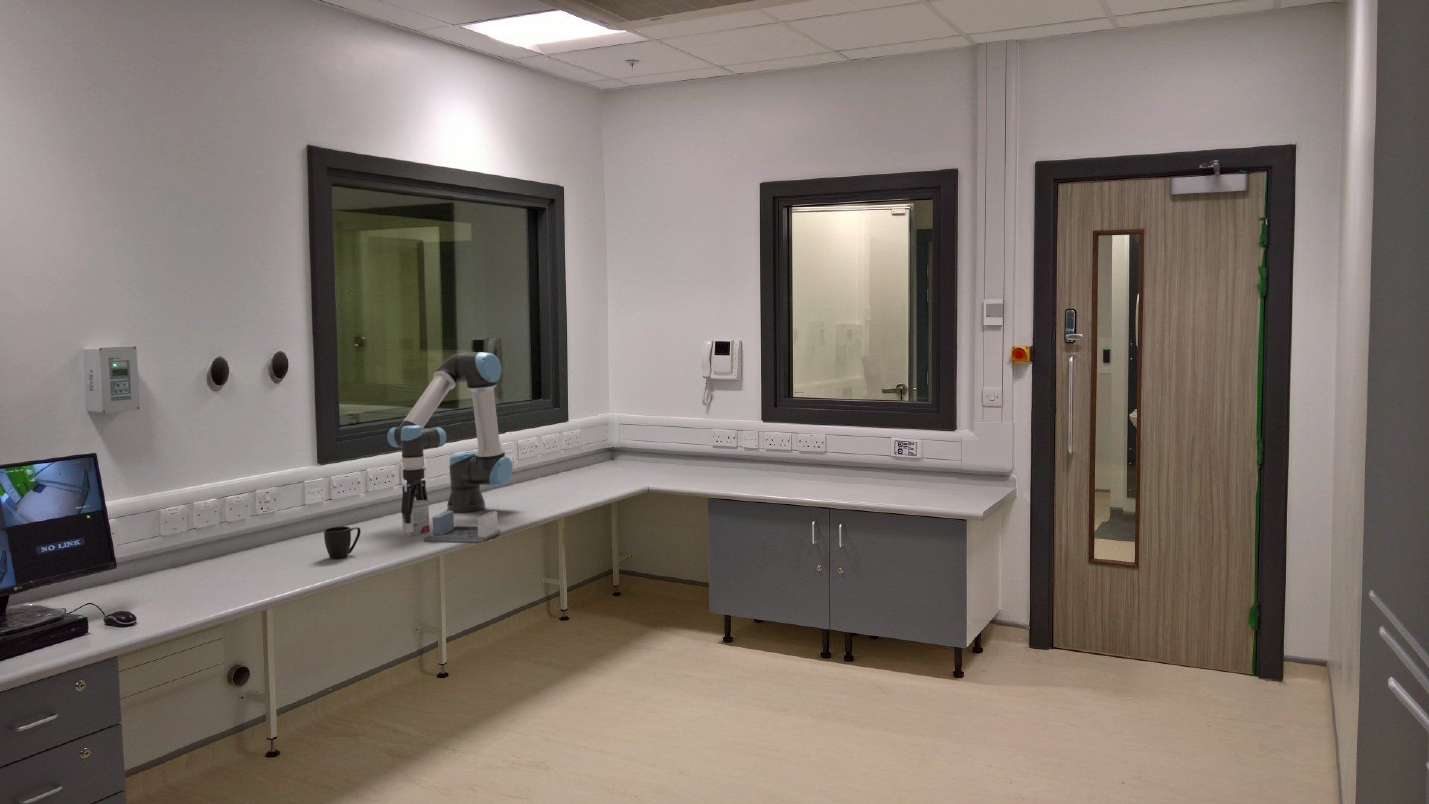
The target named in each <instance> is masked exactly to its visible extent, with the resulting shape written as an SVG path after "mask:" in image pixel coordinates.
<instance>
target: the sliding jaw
mask: <svg viewBox="0 0 1429 804" xmlns="http://www.w3.org/2000/svg"><path fill="white" fill-rule="evenodd" d="M454 513H455V512H453V511H448V510H446V511H444V512H442V513H440V514H437V515H435V516H432V519H431V520H432V534H433V535H444V534H446V533H448V532H450V531H452V530H454V526H455V516H454Z"/></svg>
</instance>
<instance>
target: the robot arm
mask: <svg viewBox="0 0 1429 804" xmlns="http://www.w3.org/2000/svg"><path fill="white" fill-rule="evenodd" d="M502 372H503V371H502V364H501V362H500V359H499V358H498V357H497V356H496V355H495V354H494V353H491V352H483V351H482V352H481V351H478V352H477V351H475V352H459V353H454V354H453V355H451V356H450V357H448V358H446V360H444V361H443V362H442V363H441V364H440V365H439V366H438V368H437V369H436V370H435V371H434V372H433V374H432V377H433V379H432V380H431V381H430V382H429V384H428V386H427V387H426V389H425V390H424V391H423V393H422V395H420V396H419V398H418V400H417V401H416V403H415V404H414V405H413V406H412V408H411V410H409V412H408V414H407V415H406V417H405V418H404V419H403V420H402V423H401V424H400V425H399V426H396V427H395V426H394V427H392V428H390V429H389V431H387V436H386V437H387V442H388V444H389V445H390V446H391V447H393V448H400V449H401V462H402V463H401V464H402V465H401V466H402V468H403V469H402V478H403V481H406V485H402V488H401V489H402V499H401V509H400V510H401V511H400V512H401V515H402V514H405V526H406V532H414V526H413V514H411V513H412V508H413V502H414V501H417V500H427V501H428V502H429V499H428V493H427V488H426V487H427V486H426V484H427V483H426V480H424V478H425V468H423V467H425V459H424V458H425V457H424V456H425V455H424V451H425V450H431V449H438V448H441V447H443V446H444V445H445V444H446V442H447V434H446V431H445V430H444V428H441V427H439V426H438V427H433V426H432V428H429V427H428V428H427V427H426V428H425V426H426V424H427V423H428V422H429V420H430V418H431V417H432V416H433V414H434V413H435V411H436V410H437V409H438V407H439V406H440V404H441V403H442V402H443V400H444V399H445V397H446V396H447V395H448V393H449V391H450V390H453V389H454V388H456V386H457V385H458V384H459V383H462V382H463V383H466V388H467V389H468V390H469V391H470V392H471V396H472V406H473V407H472V408H473V414H474V422H475V430H476V439H477V440H476V441H477V447H478V450H477V451H471V452H463V453H457V454H453V455H451V456H450V458H449V478H450V481H449V482H450V494H449V497H448V500H447V505H446V509H447V510H446V511H453V513H468V512H476V511H481V510H484V509H485V508H486V501H485V499H484V496H483V494H482V490H481V486H484V485H485V486H492V487H495V486H503V485H505V484H506V483H507V482H508V481H509V479H510V478H511V476H512V473H513V461H512V460H511V459H510V457H508V456H506V453H505V450H504V449H503V448H502V447H501V442H500V434H499V426H498V416H497V407H496V400H495V399H496V398H495V388H496V386H498V383H497V382H498V381H499V380H500V379H501V375H502Z"/></svg>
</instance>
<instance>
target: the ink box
mask: <svg viewBox="0 0 1429 804" xmlns="http://www.w3.org/2000/svg"><path fill="white" fill-rule="evenodd" d="M429 507H430V506H429V500H428V501H427V500H414V502H413V508H412V513H411V514H413V526H414V532H406V526H405V514H402V513H401V519H402V520H401V521H402V523H401V524H402V535H405V536H408V537H412V536H413V537H414V536H417V535H421V534H426V533H427V534H428V533H429V532H430V531H431V528H430V512H429V511H430V508H429Z"/></svg>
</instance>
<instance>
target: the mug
mask: <svg viewBox="0 0 1429 804" xmlns="http://www.w3.org/2000/svg"><path fill="white" fill-rule="evenodd" d="M353 530H356V531H357V533H356V536H355V539H354V541H353V543H352V545H351V542H352V531H353ZM360 535H361V528H360V527H359V526H358V527H357V526H355V527H349V526H333V527H328V528H325V529H324V530H323V538H324V540H323V541H324V545H325V548H326V552H327V555H328V557H329V559H331V560H342V559H346V558H348V556H349V555H350V554H351V553H352V552H353V550H354V549H355V547H356V545H357V542H358V541H359V538H360Z"/></svg>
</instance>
